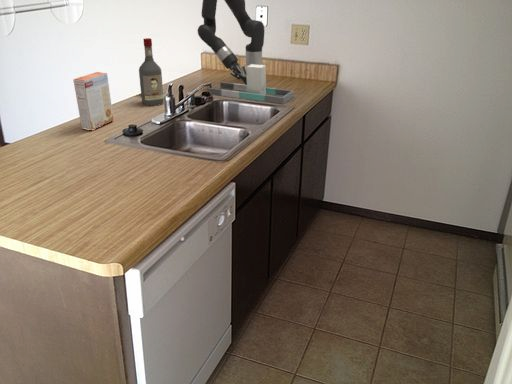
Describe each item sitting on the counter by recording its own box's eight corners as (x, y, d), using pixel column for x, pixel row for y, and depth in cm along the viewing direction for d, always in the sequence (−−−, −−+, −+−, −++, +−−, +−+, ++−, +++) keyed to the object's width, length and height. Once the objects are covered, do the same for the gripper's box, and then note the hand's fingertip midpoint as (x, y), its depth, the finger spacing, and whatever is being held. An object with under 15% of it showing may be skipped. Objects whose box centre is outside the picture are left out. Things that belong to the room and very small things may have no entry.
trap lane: (221, 87, 259) (221, 81, 257) (294, 96, 244) (294, 90, 242) (207, 93, 246) (207, 88, 245) (283, 104, 231) (283, 98, 230)
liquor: (140, 102, 230) (134, 38, 217) (158, 99, 235) (153, 36, 221) (146, 107, 223) (140, 41, 210) (165, 104, 228) (160, 39, 214)
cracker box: (102, 120, 205) (96, 71, 196) (114, 121, 203) (108, 72, 194) (80, 129, 193) (72, 78, 184) (92, 131, 191) (84, 79, 182)
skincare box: (266, 95, 244) (266, 65, 237) (260, 98, 239) (261, 67, 232) (251, 93, 247) (251, 63, 240) (245, 96, 242) (246, 65, 235)
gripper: (225, 54, 234) (247, 82, 235) (237, 50, 245) (258, 76, 246) (216, 64, 238) (238, 91, 239) (228, 59, 249) (249, 85, 250)
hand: (248, 83), depth 242 cm, fingers closed
